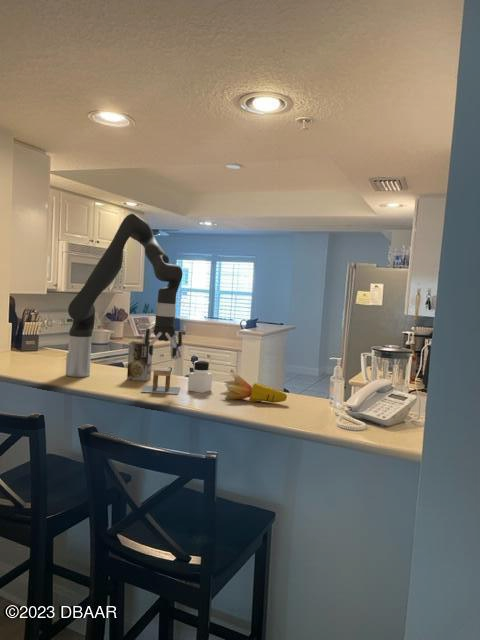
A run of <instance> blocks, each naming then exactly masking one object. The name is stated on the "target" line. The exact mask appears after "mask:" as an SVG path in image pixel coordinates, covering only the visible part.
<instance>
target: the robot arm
mask: <svg viewBox="0 0 480 640" xmlns="http://www.w3.org/2000/svg"><path fill="white" fill-rule="evenodd" d="M121 221H122V222H121V223H120V225H119V226H118V228H117V231H116V233H115V235H114V236H113V239H112V240H111V242H110V243H109V245H108V247H107V249H106V250H105V252H104V253H103V255H102V256H101V257H100V259H99V260H98V262H97V264H96V265H95V267H94V268H93V270H92V272H91V273H90V274H89V276H88V278H87V280H86V282H85V284H84V285H83V286H82V288H81V289H80V291H78V293H76V296H75V297H73V299H72V300H71V301H70V303H69V305H68V309H67V311H68V316H69V317H70V318H71V319H72V325H71V327H70V328H69V334H68V352H67V353H66V358H65V359H66V361H65V376H66V377H72V378H73V377H74V378H85V377H89V376H90V375H91V359H92V358H91V357H92V356H91V355H92V338H93V331H94V329H95V328H94V327H95V319H96V317H95V316H96V308H95V302H96V301H97V299H98V297H99V296H100V295H101V294H102V292H104V291H105V290H106V289H107V288H108V287H109V286H110V285H111V284H112V282H113V281H114V280H115V278H116V277H117V276H118V274H119V273H120V271H121V270H122V266H123V261H124V249H125V245H126V244H127V242H128V240H129V238H131V239H132V240H134V241H137V242H138V243H139V244H140V245H141V246H142V247H143V248H144V254H145V256H146V258H147V259H148V261H149V263H150V264H151V265H152V269H153V272H154V275H155V278H156V279H157V280H159V281H160V282H163V283H164V282H167V285H166V287H160V288H159V289H158V293H157V304H156V309H155V321H154V322H155V323H154V328H153V329H152V328H146V330H145V337H144V342H145V344H148V345H149V354H150V355H151V356H152V357H153V355H154V344H155V342H157V341H160V342H161V341H164V342H169V343H170V344H171V345H172V347H173V348H172V354H171V357H172V358H175V357H176V355H177V352H178V351H177V350H178V348H180V347H182V345H183V331H182V330H177V331H176V330H175V324H176V323H175V322H176V314H177V313H176V312H177V310H176V304H177V303H176V302H177V293H178V291H179V288H180V284H181V282H182V280H183V270H182V268H181V266H180V265H178V264H175V263H174V264H173V263H170V258H169V257H168V255H167V253H166V251H164V249H163V248H162V247H161V245H160V244H159V243H158V241H157V239H156V237H155V235H154V234H153V233H154V232H153V230H152V228H151V226H150V225H149V223H148V222H147V221H146V220H144V219H143V218H141V217H140V216H138V215H137V214H135V213H129V214H127V216H126V217H124V218H123V220H121ZM152 333H153V334H154V337H153V339H151V341H150V336H151V334H152ZM174 335H176V337H177V338H178V342H177V343H176V341H175V340H174V338H173V337H174Z"/></svg>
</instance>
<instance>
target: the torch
mask: <svg viewBox="0 0 480 640" xmlns="http://www.w3.org/2000/svg"><path fill="white" fill-rule="evenodd" d="M229 375H230V376H232V378H233V379H234V380H223V382H224V386H226V388H227V390H226V391H224V392H223V391H222V392H220V393H219V395H223V396H225V397H224V399H225V400H244V399H247V398H249V399H248V400H249V403H256V402H257V403H258V402H268V403H281V402H285V401H286V400H287V398H288V396H287V393H285V392H283V391H281V390H277V389H274V388H271V387H270V386H267V385H263V384H261V383H258V382H254V383H253V384H252V385H250V384H249V383H248V382H247V381H246V380H244V378H242V377H241V376H240V375H239V374H236V373H231V372H229Z"/></svg>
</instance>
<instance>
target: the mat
mask: <svg viewBox="0 0 480 640" xmlns="http://www.w3.org/2000/svg"><path fill="white" fill-rule="evenodd" d="M180 390H181V386H170V388H169V389H168V391H165V385H158V387H157V388H156V391H153V384H151V385H149V384H145V386H144V387H143V388H142V390H141V391H140V393H142V394H143V393H144V394H157V395H158V394H159V395H172V396H173V395H175V396H176V395H177V396H178V395H179V392H180Z"/></svg>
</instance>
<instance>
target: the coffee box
mask: <svg viewBox="0 0 480 640" xmlns="http://www.w3.org/2000/svg"><path fill="white" fill-rule="evenodd" d="M152 362H153V355H152V356H151V355H150V354H149V345H148V344H145V341H130V342H128V354H127V376H126V380H129V379H132V380H131V381H142V382H143V381H144V382H145V381H146V382H147V381H150V380H151V379H152V364H153V363H152Z"/></svg>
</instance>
